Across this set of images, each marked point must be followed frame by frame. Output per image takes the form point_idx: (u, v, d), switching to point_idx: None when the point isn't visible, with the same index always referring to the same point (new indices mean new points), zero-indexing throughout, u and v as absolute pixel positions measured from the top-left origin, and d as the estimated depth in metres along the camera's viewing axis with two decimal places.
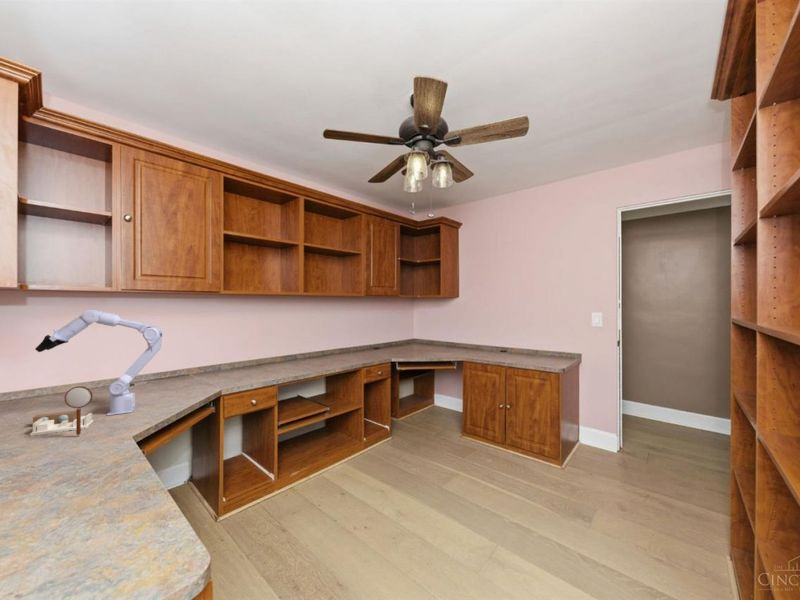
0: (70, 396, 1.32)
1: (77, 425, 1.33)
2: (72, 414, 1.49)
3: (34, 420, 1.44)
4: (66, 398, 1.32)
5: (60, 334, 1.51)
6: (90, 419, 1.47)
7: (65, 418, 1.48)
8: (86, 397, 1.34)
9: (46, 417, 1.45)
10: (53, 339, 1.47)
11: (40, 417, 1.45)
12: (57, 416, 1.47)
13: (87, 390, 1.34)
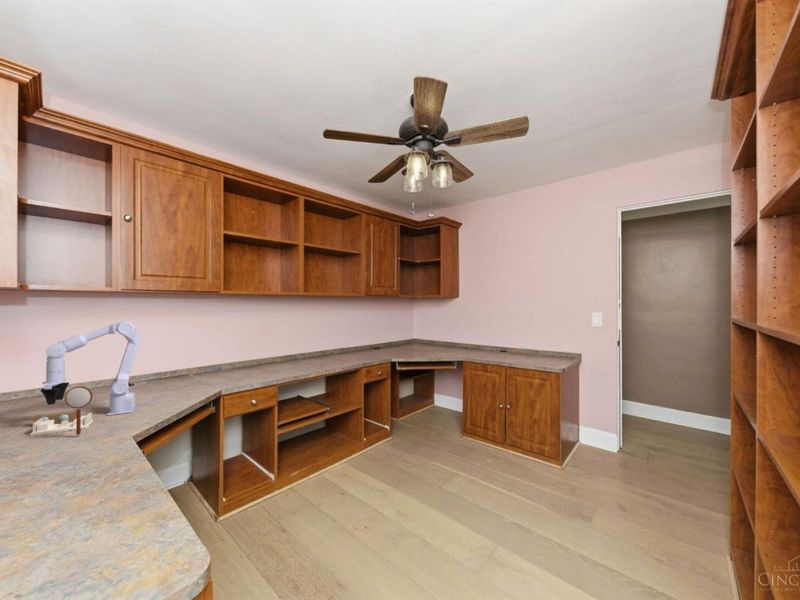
0: (70, 396, 1.32)
1: (77, 425, 1.33)
2: (72, 414, 1.50)
3: (34, 420, 1.44)
4: (66, 398, 1.32)
5: (51, 381, 1.45)
6: (90, 419, 1.47)
7: (65, 418, 1.48)
8: (86, 397, 1.34)
9: (46, 417, 1.46)
10: (48, 387, 1.42)
11: (40, 417, 1.45)
12: (57, 416, 1.47)
13: (87, 390, 1.34)
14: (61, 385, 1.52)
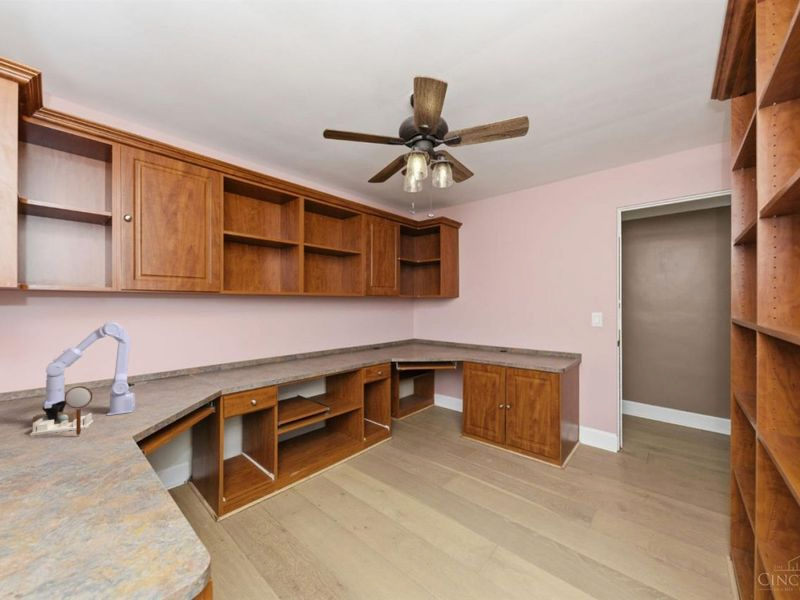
0: (70, 396, 1.32)
1: (77, 425, 1.33)
2: (72, 414, 1.49)
3: (34, 420, 1.44)
4: (66, 398, 1.32)
5: (51, 399, 1.45)
6: (90, 419, 1.47)
7: (65, 418, 1.48)
8: (86, 397, 1.34)
9: (46, 417, 1.45)
10: (48, 406, 1.42)
11: (40, 417, 1.45)
12: None
13: (87, 390, 1.34)
14: (59, 404, 1.50)
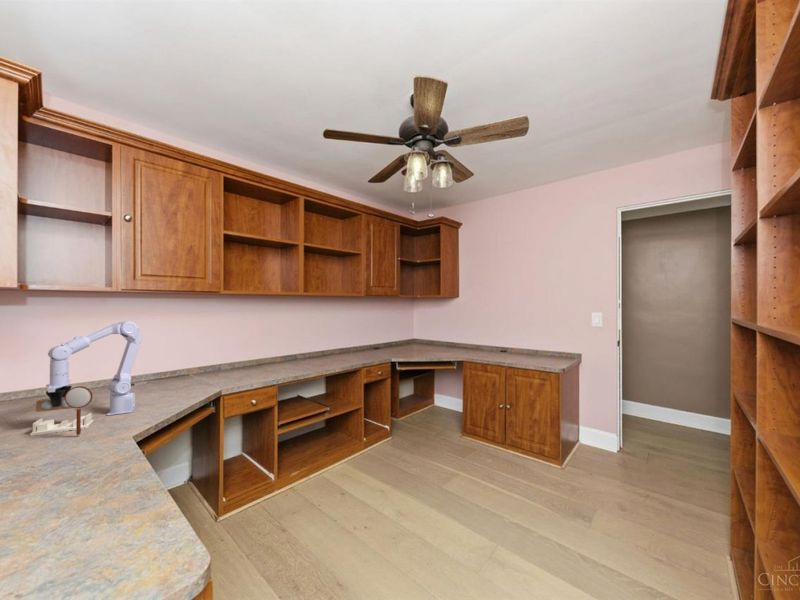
0: (70, 396, 1.32)
1: (77, 425, 1.33)
2: None
3: (37, 404, 1.41)
4: (66, 398, 1.32)
5: (54, 384, 1.43)
6: (90, 419, 1.47)
7: None
8: (86, 397, 1.34)
9: (50, 401, 1.43)
10: (52, 390, 1.39)
11: (44, 401, 1.42)
12: (61, 401, 1.44)
13: (87, 390, 1.34)
14: (63, 389, 1.48)
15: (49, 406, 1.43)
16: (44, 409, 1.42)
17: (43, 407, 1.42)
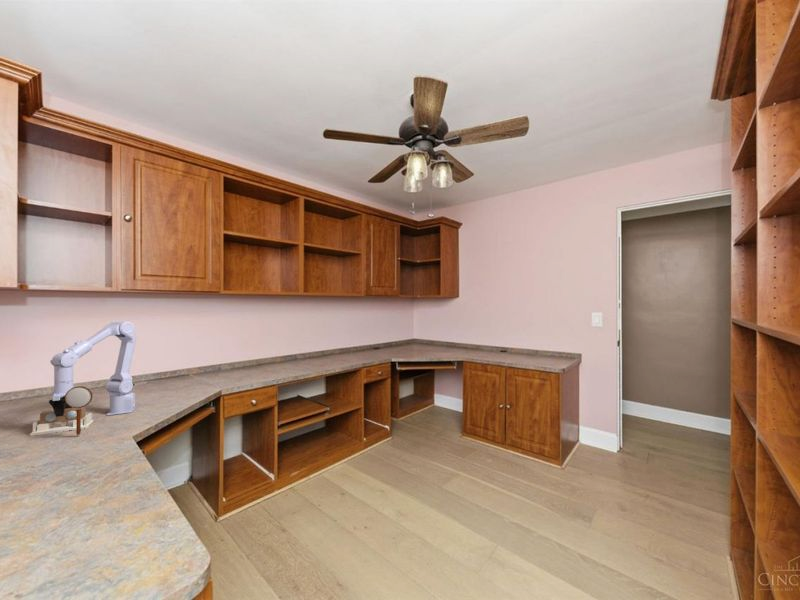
0: (70, 396, 1.32)
1: (77, 425, 1.33)
2: (81, 410, 1.43)
3: (41, 416, 1.37)
4: (66, 398, 1.32)
5: (59, 391, 1.39)
6: (90, 419, 1.47)
7: (73, 414, 1.42)
8: (86, 397, 1.34)
9: (54, 413, 1.39)
10: (57, 398, 1.36)
11: (48, 413, 1.38)
12: (65, 412, 1.41)
13: (87, 390, 1.34)
14: None
15: (53, 418, 1.39)
16: (48, 421, 1.38)
17: (47, 419, 1.38)
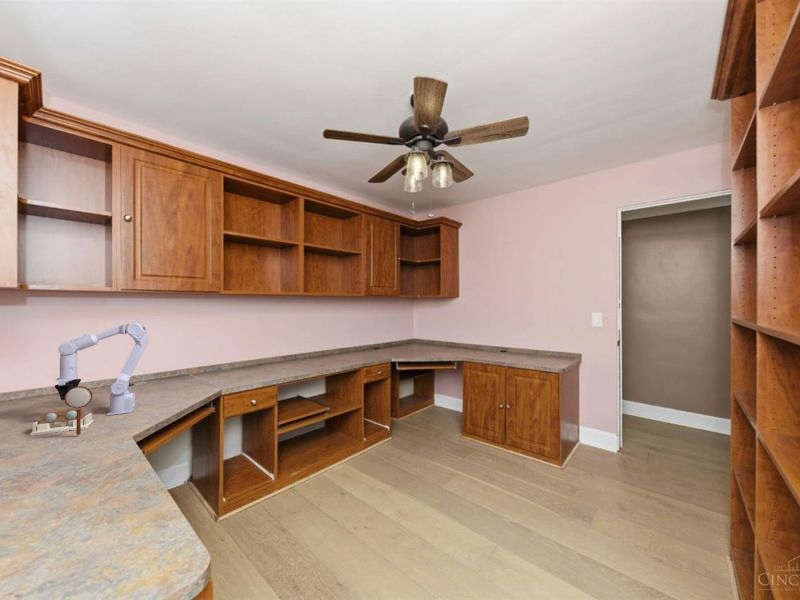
0: (70, 396, 1.32)
1: (77, 425, 1.33)
2: (81, 410, 1.43)
3: (41, 416, 1.37)
4: (66, 398, 1.32)
5: (64, 377, 1.50)
6: (90, 419, 1.47)
7: (73, 414, 1.42)
8: (86, 397, 1.34)
9: (54, 413, 1.39)
10: (62, 383, 1.47)
11: (48, 413, 1.38)
12: (65, 412, 1.41)
13: (87, 390, 1.34)
14: (73, 381, 1.57)
15: (53, 418, 1.39)
16: (48, 421, 1.38)
17: (47, 419, 1.38)
